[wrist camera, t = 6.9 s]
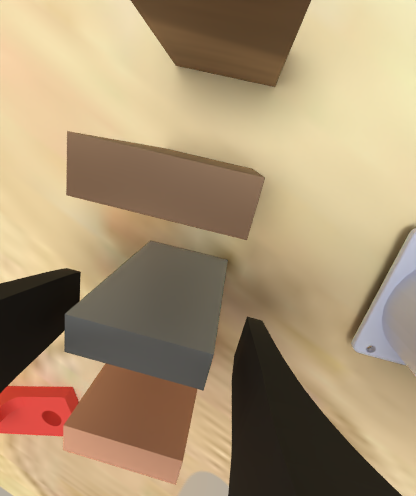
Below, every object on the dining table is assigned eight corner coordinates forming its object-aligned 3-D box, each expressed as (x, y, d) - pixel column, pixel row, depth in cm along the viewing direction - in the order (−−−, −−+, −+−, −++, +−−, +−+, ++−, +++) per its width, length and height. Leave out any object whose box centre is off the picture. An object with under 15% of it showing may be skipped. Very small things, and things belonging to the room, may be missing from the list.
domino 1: (181, 26, 12) (71, -219, 4) (285, 47, 11) (366, -173, 4) (175, 65, 12) (69, -88, 5) (274, 86, 12) (328, -40, 4)
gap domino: (150, 240, 16) (64, 313, 8) (227, 259, 15) (213, 354, 8) (147, 263, 16) (64, 351, 9) (222, 282, 16) (203, 390, 8)
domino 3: (140, 312, 17) (63, 425, 10) (209, 330, 17) (182, 461, 10) (137, 330, 18) (63, 450, 10) (204, 348, 18) (175, 484, 10)
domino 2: (164, 148, 14) (67, 131, 6) (252, 168, 13) (264, 178, 6) (159, 177, 14) (66, 195, 7) (244, 198, 14) (246, 239, 6)
